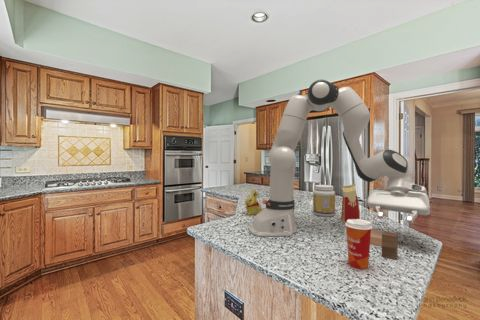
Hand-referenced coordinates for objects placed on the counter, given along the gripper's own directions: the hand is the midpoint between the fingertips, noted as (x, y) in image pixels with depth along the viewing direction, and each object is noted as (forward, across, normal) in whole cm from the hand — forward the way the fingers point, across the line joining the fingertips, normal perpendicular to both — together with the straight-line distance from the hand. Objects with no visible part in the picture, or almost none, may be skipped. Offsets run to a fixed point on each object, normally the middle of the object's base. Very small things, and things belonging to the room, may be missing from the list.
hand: (394, 219), depth 87 cm
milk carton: (-11, -24, +27) cm, 38 cm away
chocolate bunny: (+4, -70, +11) cm, 71 cm away
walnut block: (+14, 0, +2) cm, 14 cm away
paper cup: (+24, -6, -8) cm, 25 cm away
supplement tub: (-15, -40, +31) cm, 53 cm away
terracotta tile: (+4, -7, +11) cm, 14 cm away
